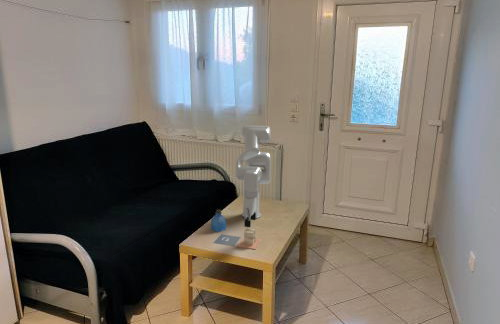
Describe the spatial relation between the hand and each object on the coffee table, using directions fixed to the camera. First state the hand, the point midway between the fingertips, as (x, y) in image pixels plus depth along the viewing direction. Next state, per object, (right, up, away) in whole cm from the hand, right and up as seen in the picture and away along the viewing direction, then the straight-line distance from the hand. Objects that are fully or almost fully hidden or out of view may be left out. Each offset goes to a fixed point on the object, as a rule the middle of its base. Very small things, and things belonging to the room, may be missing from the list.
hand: (250, 223), depth 193 cm
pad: (0, -11, +2) cm, 12 cm away
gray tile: (-13, -10, +6) cm, 17 cm away
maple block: (0, -11, +2) cm, 11 cm away
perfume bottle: (-19, -7, +20) cm, 28 cm away
